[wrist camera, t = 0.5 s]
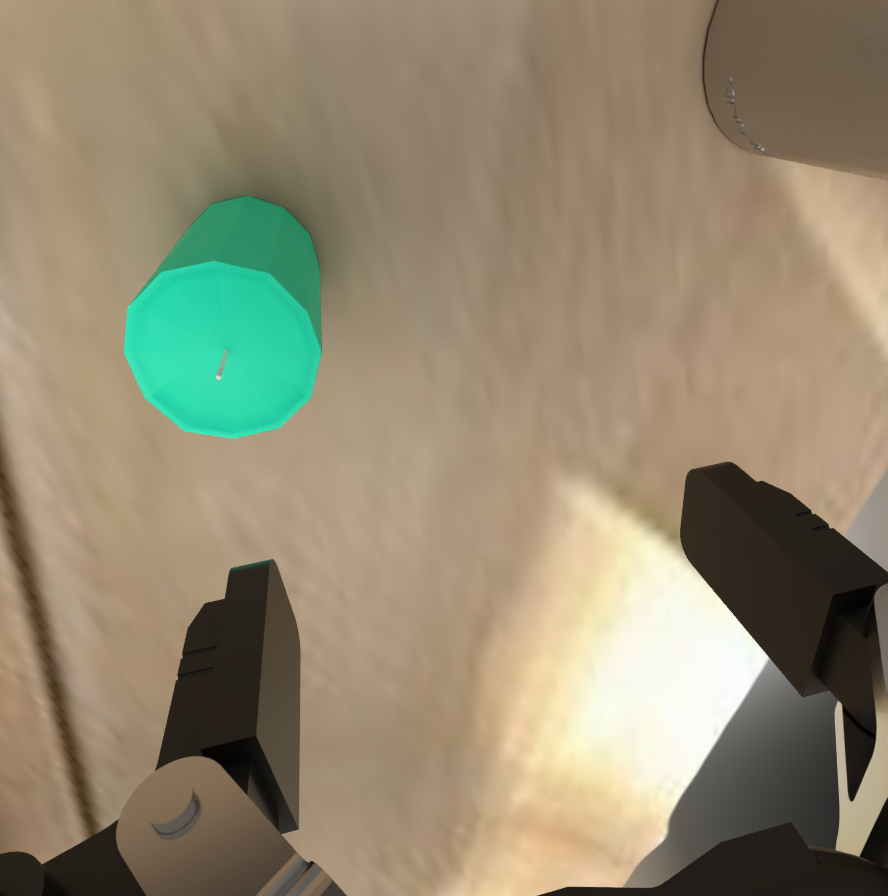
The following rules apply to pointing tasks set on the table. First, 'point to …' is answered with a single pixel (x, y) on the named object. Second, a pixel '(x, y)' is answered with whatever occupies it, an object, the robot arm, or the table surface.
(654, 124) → the table surface
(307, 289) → the candle
